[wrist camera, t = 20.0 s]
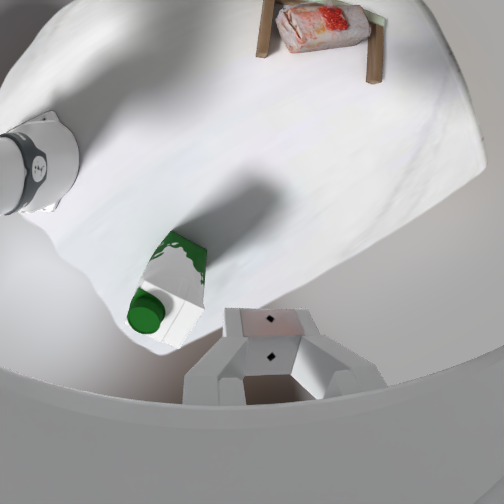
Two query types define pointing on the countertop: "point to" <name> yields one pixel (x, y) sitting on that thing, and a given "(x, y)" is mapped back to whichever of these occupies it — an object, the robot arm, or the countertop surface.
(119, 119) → the countertop surface
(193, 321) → the milk carton
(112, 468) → the robot arm
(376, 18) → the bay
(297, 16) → the food item
